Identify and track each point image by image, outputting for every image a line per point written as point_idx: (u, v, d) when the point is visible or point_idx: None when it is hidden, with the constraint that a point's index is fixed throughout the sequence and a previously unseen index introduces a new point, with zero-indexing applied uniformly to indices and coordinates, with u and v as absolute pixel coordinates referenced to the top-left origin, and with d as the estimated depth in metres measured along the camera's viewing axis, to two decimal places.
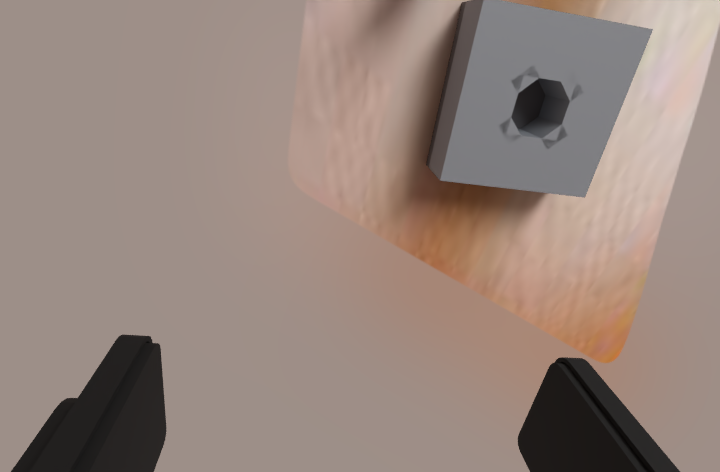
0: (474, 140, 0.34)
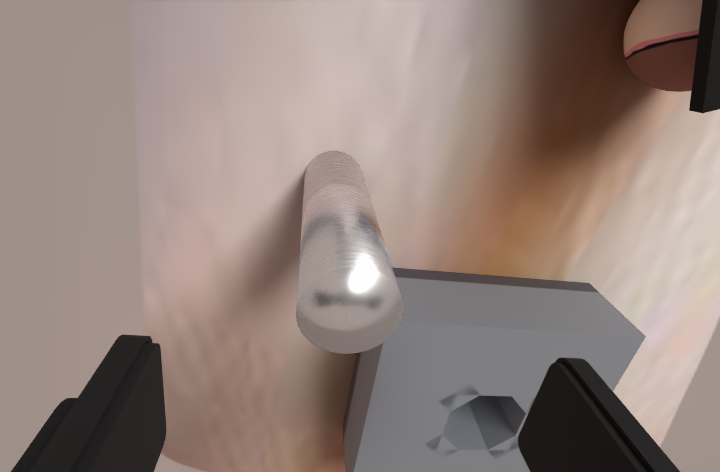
0: (392, 459, 0.24)
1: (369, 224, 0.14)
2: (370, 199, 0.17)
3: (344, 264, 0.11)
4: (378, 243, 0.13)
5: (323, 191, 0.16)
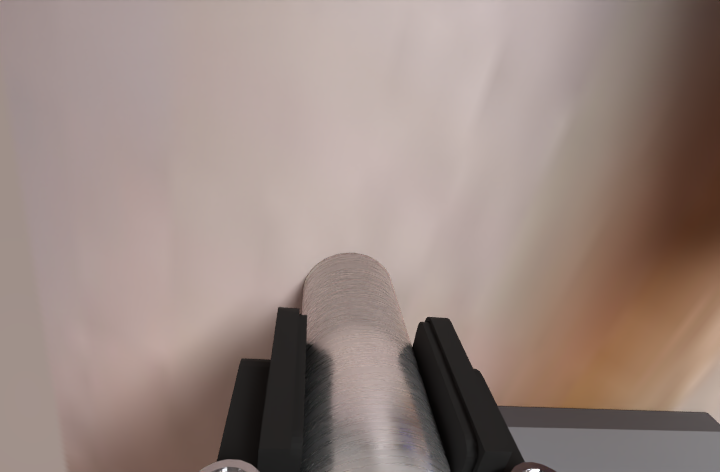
0: None
1: None
2: (417, 366, 0.10)
3: None
4: None
5: (336, 377, 0.08)
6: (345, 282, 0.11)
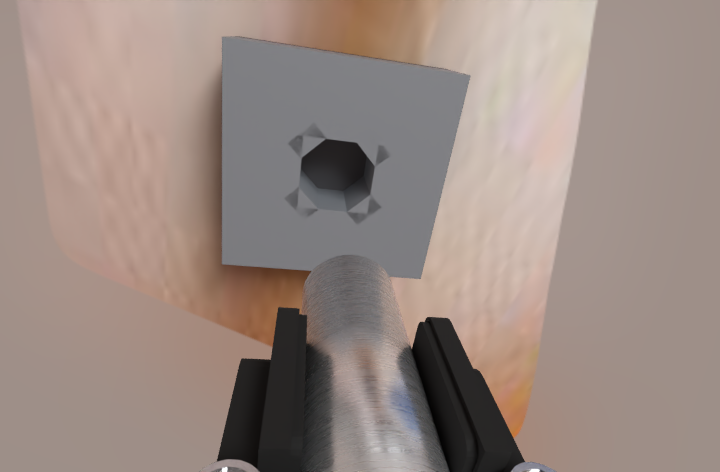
0: (256, 215, 0.26)
1: None
2: (417, 368, 0.10)
3: None
4: None
5: (336, 380, 0.08)
6: (345, 284, 0.11)
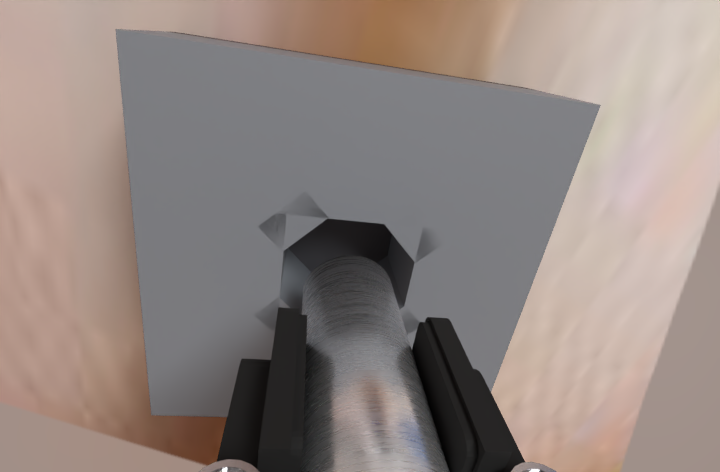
0: (206, 343, 0.15)
1: None
2: (417, 369, 0.10)
3: None
4: None
5: (336, 380, 0.08)
6: (345, 285, 0.11)
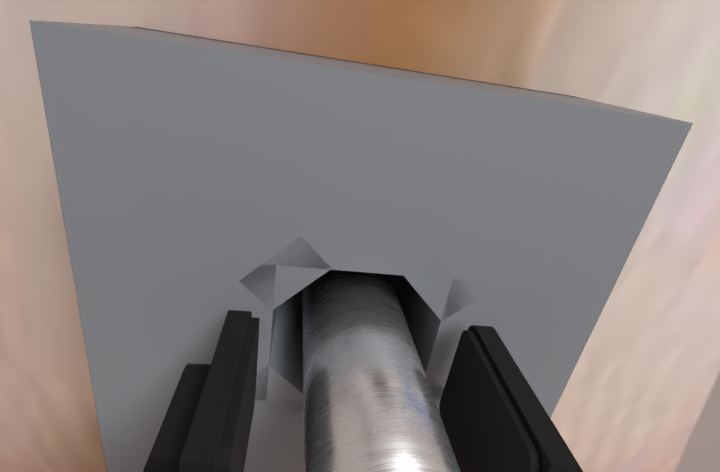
0: None
1: (430, 435, 0.07)
2: (408, 328, 0.11)
3: None
4: None
5: (338, 334, 0.10)
6: None
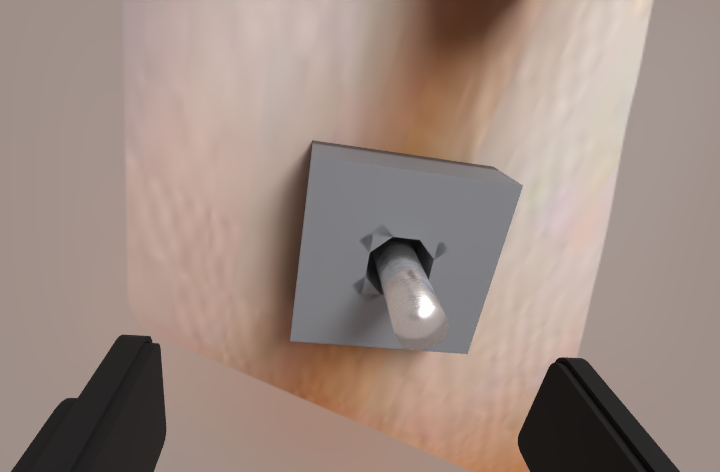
0: (325, 300, 0.29)
1: (425, 280, 0.25)
2: None
3: (420, 303, 0.22)
4: (432, 291, 0.24)
5: (394, 257, 0.27)
6: None
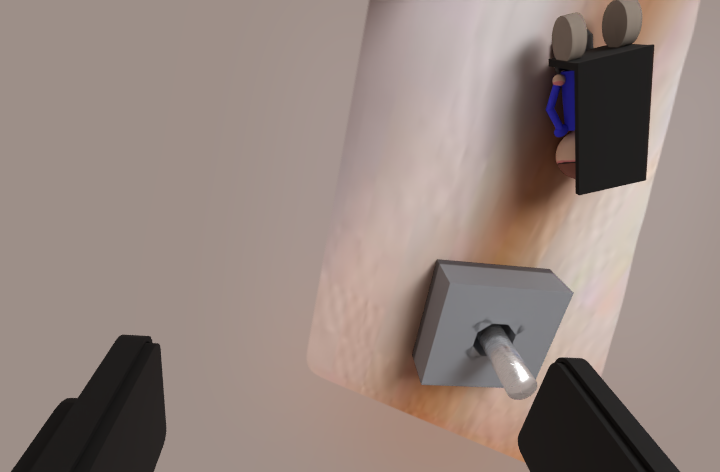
0: (446, 360, 0.46)
1: (518, 356, 0.42)
2: None
3: (522, 375, 0.39)
4: (524, 364, 0.41)
5: (494, 337, 0.44)
6: None
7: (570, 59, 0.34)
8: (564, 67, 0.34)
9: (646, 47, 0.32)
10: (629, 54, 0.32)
